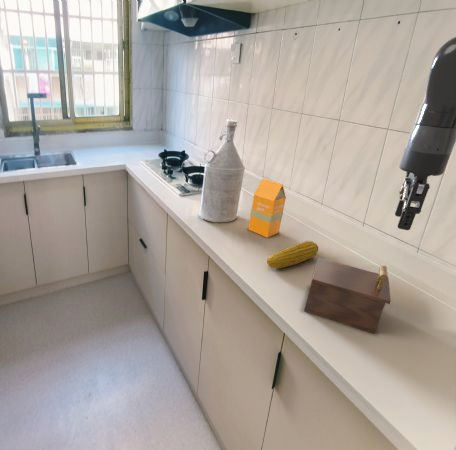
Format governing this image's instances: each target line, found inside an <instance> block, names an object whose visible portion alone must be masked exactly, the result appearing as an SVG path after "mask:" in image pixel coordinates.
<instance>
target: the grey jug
mask: <svg viewBox="0 0 456 450" xmlns="http://www.w3.org/2000/svg"><path fill="white" fill-rule="evenodd" d="M237 123H238V120H235V119H232V118H227V119H226V125H225V127H224V128H226V131H225V129H224V128H223V129H221V134H220V135H219V137H218V139H219V141H222V140H223V138H224V136H225V140H224V141H223V142H222V143H221V145H220V146H219V148H217V150H216V151H215V152H214V150H211V149H208V150H207V151H205V152H204V154H203V156H204V157H203V160H205V162H206V163H205V164H204V171H203V179H202V189H201V199H200V209H199V214H198V215H199V217H200V218H201V219H202V220H205V221H208V222H213V223H228V222H232V221H235V220H236V219H237V215H238V210H239V209H238V208H239V204H240V197H241V191H242V186H243V181H244V176H245V175H244V174H245V170H246V167H245V165H244V162H243V161H242V159H241V156H240V154H239V152H238V150H237V148H236V146H235V144H234V138H235V133H236V129H237V127H238V124H237ZM223 133H225V134H223ZM209 153H212V156H211V157H210V159H209V160H206V159H207V155H208V154H209Z"/></svg>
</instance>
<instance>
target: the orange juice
mask: <svg viewBox="0 0 456 450" xmlns="http://www.w3.org/2000/svg"><path fill="white" fill-rule="evenodd" d="M285 192H286V191H285V188H284V184H283V183H280V182H276V181H272V180H269V179H265V178H262V179H261V181H260V182H259V184H258V186H257V188H256V190H255V192H254V194H253V199H252V205H251V209H250V217H249V223H248V230H249V231H251V232H253V233H256V234H258V235H260V236H263V237H265V238H269V237H272V236H274V235H277V234H279V233H280V228H281V223H282V218H283V215H284V209H285V208H284V207H285V203H286V199H287V197H286V193H285Z"/></svg>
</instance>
